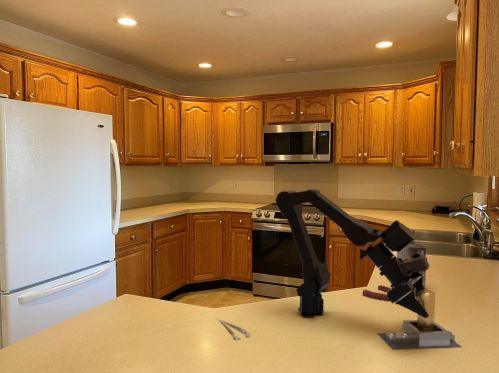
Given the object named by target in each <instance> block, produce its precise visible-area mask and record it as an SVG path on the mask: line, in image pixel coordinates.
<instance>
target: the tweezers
mask: <svg viewBox="0 0 499 373" xmlns="http://www.w3.org/2000/svg"><path fill="white" fill-rule="evenodd" d="M217 321H218V322H219V323H221V324H222V325H223V326H224V327H225V328H226V330H228V331H229V333H230V334H231V335H232V336H233V338H234V340H235V341H239V340H241V337H238V336H237V335H235V332H234V331H233V330H232V329H231V328H230V327H232V328H233V329H235V330H236V331H237V332H239V333H241V334H243V335H245V336H246V338H250V337H251V333H250V332H249V331H247V330H246V329H244V328H243V327H241V326H239V325H235V324H232V323H230V322H228V321H226V320H225V321H224V320H221V319H217ZM229 326H230V327H229Z"/></svg>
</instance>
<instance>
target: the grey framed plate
mask: <svg viewBox="0 0 499 373" xmlns="http://www.w3.org/2000/svg"><path fill="white" fill-rule="evenodd" d="M385 333H386V339H387V340H388V341H389V342H390V343H391V344H395V343H414V344H416V345H417V346H418V347H419V348H423V347H450V342H456V339H455V338H456V336H455V334H453V332H452V331H450V330H447V329H446V328H444V327H443V326H441V325H440V324H439V323H437V322H435V323H434V331H431V332H421V331H419V330H418V329H417V319H409V320H402V331H397V332H396V331H393V332H391V331H389V332H385Z"/></svg>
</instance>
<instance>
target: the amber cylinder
mask: <svg viewBox="0 0 499 373" xmlns="http://www.w3.org/2000/svg"><path fill="white" fill-rule="evenodd" d="M418 300H419V301H420V303H421V304H422V305H423V307H424V308H425V310H426V311H427V313H428V315H429V316H428V317H427V318H424V317H422V316H420V315H418V314H417V315H416V317H417V319H416V320H417V329H418V330H419V331H421V332H431V331H434V323H436V322H435V320H436V319H435V317H436V292H435V291H434V290H429V289H426V290H418Z"/></svg>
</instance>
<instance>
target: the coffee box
mask: <svg viewBox="0 0 499 373" xmlns="http://www.w3.org/2000/svg"><path fill="white" fill-rule="evenodd" d="M426 249H427V248H426V246H425V247H424V246H423V245H421V244H409V245H408V246H406V247H405V248H404V249H403V250H401V251H400V252H397V251H396V257H397V258H402V259H403V260H404V261H406V260H409V259H412V255H413V254H414V253H417V252H419V253H420V254H421V255H425V257H426V258H427V256H426V255H427V250H426ZM426 271H427V270H426ZM426 271H422V272H423V275H422V276H424V283H423V284H424V287H425V288H426V282H427V281H426V278H427V277H426ZM422 276H419V278H421V277H422Z"/></svg>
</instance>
